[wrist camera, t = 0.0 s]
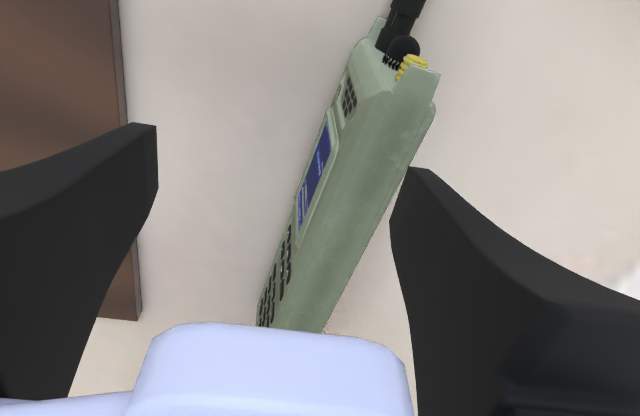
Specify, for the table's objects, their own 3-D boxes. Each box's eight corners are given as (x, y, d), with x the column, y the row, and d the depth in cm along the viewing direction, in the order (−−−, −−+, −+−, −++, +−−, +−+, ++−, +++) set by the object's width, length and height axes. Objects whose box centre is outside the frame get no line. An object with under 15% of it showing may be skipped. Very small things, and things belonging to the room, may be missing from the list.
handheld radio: (250, 304, 30) (400, -116, 17) (295, 313, 31) (474, -83, 17) (241, 394, 25) (451, -118, 11) (295, 401, 26) (555, -70, 12)
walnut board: (142, 310, 31) (137, 321, 30) (-10, 294, 29) (-19, 305, 29) (99, -240, 15) (86, -248, 14) (-237, -325, 13) (-272, -339, 13)
